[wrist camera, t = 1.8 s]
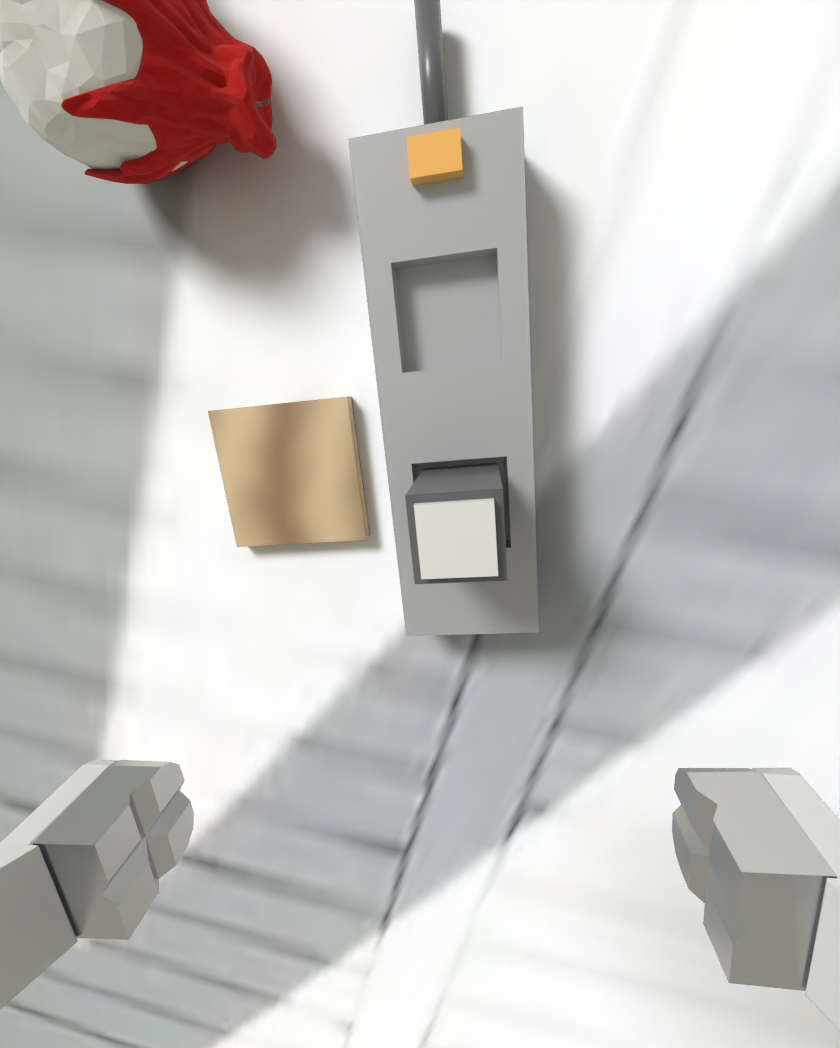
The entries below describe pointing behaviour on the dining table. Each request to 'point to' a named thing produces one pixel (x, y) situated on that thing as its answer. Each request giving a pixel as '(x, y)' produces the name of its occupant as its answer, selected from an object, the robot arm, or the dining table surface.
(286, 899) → the dining table surface
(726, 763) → the dining table surface
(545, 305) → the dining table surface
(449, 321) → the power strip
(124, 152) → the white red lumpy piece
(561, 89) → the dining table surface
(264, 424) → the cork coaster
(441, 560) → the block
